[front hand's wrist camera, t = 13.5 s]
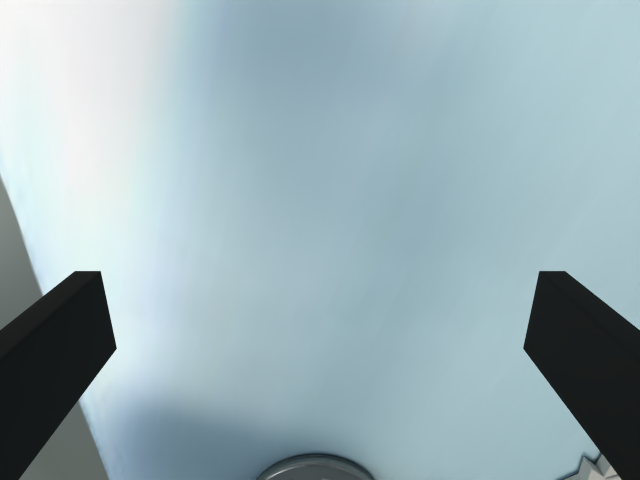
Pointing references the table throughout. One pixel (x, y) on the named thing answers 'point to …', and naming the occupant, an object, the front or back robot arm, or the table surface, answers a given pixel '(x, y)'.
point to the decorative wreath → (595, 471)
